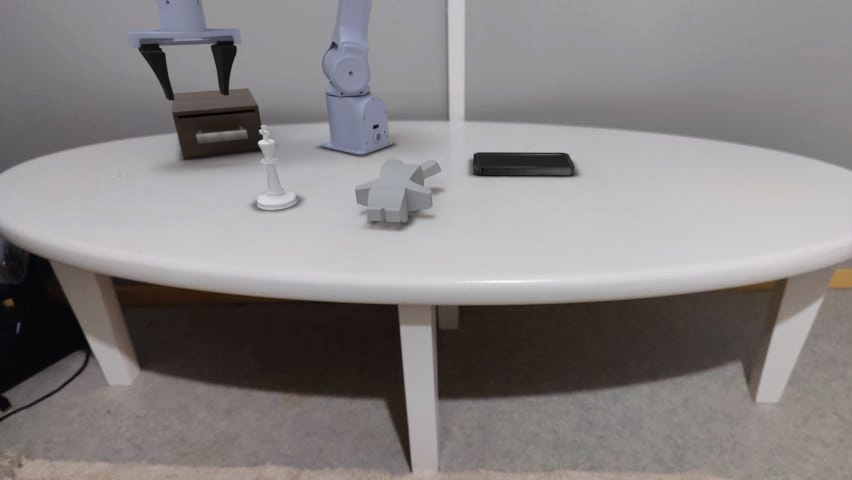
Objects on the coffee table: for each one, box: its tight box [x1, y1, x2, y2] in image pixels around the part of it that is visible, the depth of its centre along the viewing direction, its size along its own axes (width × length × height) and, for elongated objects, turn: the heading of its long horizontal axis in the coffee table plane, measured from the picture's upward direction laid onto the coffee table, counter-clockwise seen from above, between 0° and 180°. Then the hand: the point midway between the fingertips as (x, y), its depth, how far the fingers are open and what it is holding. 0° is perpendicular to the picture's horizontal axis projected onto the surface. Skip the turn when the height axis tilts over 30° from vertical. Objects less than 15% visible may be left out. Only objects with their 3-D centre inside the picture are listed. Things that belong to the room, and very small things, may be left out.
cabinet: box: [171, 87, 263, 160], centre depth 95 cm, size 15×12×7 cm
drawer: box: [178, 110, 261, 157], centre depth 91 cm, size 19×11×6 cm, turn 25°
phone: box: [472, 151, 575, 176], centre depth 86 cm, size 8×1×15 cm
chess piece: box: [256, 124, 298, 211], centre depth 70 cm, size 5×5×10 cm
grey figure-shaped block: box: [354, 157, 442, 223], centre depth 71 cm, size 10×5×15 cm
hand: (198, 96), depth 84 cm, fingers open, 7 cm apart
